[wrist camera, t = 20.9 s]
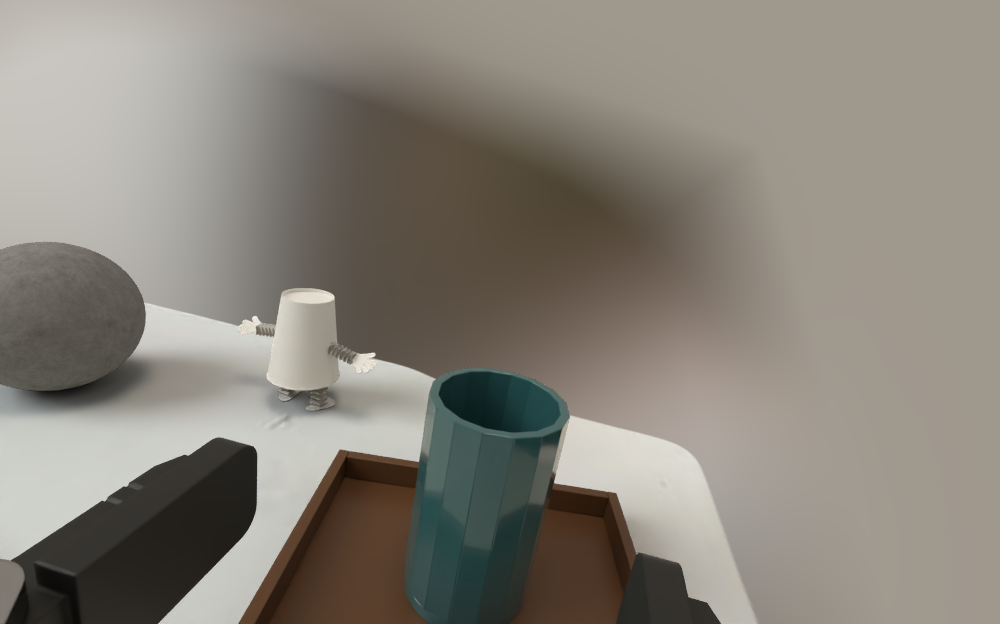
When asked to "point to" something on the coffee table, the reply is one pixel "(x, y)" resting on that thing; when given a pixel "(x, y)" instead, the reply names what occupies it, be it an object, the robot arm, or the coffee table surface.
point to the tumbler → (481, 494)
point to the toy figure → (306, 346)
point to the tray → (383, 544)
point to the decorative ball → (64, 316)
